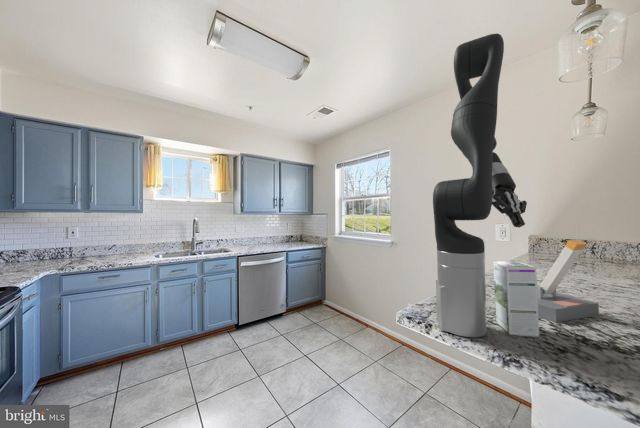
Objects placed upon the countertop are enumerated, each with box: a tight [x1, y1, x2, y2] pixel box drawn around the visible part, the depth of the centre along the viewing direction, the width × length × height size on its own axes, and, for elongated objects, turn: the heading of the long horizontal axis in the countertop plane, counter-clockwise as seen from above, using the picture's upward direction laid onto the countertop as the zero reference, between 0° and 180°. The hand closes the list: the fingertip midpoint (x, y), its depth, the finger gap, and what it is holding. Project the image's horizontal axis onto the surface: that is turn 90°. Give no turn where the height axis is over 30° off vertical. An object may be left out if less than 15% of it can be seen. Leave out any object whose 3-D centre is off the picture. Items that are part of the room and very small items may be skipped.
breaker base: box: [537, 285, 600, 323], centre depth 63 cm, size 14×14×6 cm
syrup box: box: [492, 260, 540, 338], centre depth 52 cm, size 6×6×14 cm
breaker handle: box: [539, 239, 588, 294], centre depth 60 cm, size 2×3×16 cm, turn 103°
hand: (519, 225), depth 68 cm, fingers closed
